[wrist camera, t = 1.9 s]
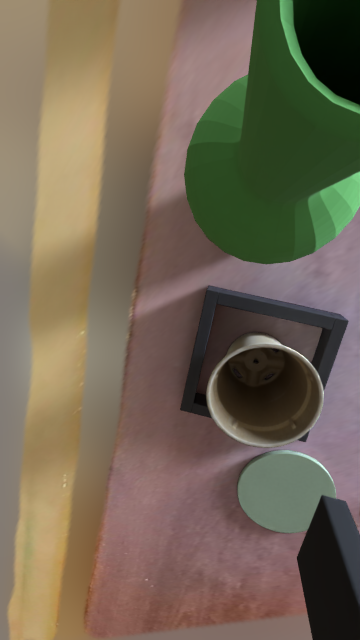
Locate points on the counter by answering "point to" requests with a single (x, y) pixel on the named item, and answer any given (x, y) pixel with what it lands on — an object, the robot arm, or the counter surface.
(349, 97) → the wine bottle
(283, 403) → the flower pot
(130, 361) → the counter surface
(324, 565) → the robot arm
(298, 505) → the coaster
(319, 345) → the holder
